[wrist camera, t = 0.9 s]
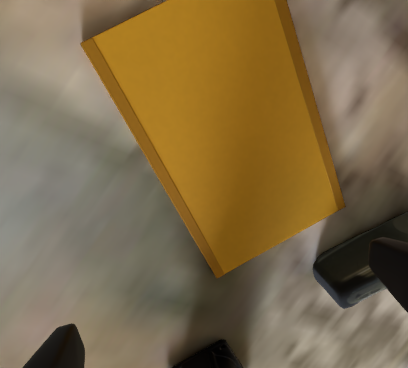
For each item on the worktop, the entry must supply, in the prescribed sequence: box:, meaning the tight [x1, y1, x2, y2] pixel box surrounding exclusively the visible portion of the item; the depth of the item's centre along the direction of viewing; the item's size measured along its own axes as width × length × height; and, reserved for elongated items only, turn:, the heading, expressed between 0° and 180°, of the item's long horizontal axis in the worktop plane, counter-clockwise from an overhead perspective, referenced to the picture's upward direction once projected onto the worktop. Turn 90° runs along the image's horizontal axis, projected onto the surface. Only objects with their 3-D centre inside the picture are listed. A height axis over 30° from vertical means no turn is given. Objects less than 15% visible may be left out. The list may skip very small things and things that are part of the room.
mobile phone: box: [313, 212, 408, 309], centre depth 25 cm, size 5×3×15 cm
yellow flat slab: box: [80, 0, 345, 278], centre depth 21 cm, size 20×13×1 cm, turn 26°
